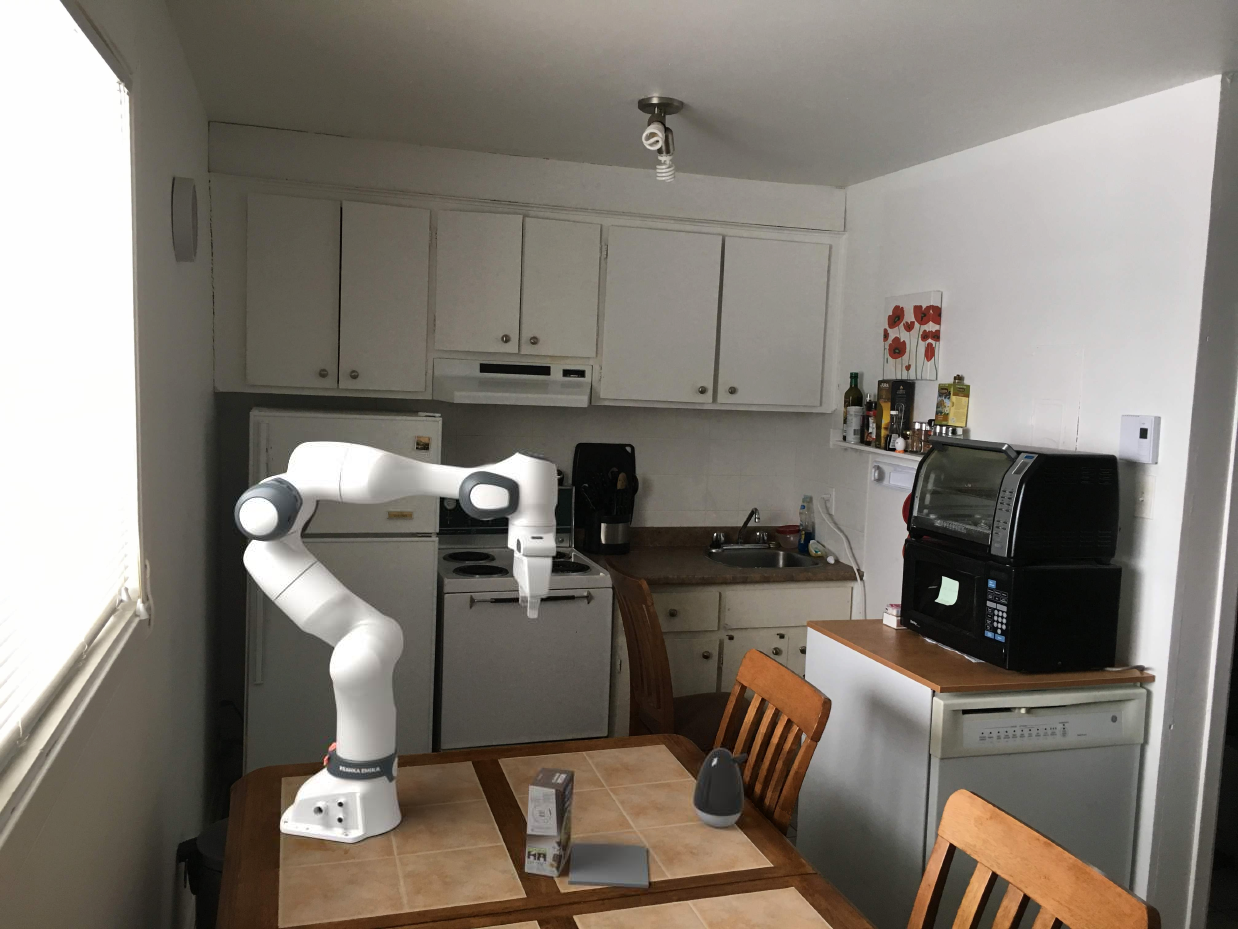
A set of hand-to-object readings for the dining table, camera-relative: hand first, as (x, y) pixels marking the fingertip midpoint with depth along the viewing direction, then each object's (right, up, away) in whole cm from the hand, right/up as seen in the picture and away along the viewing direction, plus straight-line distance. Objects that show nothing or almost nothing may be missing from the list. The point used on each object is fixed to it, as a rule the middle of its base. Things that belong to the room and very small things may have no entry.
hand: (528, 611), depth 180 cm
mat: (+15, -45, -7) cm, 48 cm away
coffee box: (+4, -45, -7) cm, 46 cm away
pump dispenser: (+37, -45, +14) cm, 60 cm away
